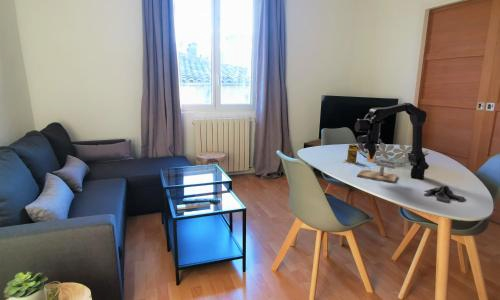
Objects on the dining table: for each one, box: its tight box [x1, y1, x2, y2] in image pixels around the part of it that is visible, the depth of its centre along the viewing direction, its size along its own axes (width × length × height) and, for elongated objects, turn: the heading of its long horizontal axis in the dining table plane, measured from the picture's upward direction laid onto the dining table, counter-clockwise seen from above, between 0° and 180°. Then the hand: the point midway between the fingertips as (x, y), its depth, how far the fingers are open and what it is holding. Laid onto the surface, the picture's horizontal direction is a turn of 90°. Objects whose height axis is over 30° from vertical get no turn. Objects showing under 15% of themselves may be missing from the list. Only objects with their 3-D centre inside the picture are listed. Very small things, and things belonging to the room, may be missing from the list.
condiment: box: [342, 143, 358, 165], centre depth 209 cm, size 7×8×12 cm
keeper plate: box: [356, 166, 398, 184], centre depth 178 cm, size 20×13×7 cm, turn 57°
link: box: [366, 150, 398, 170], centre depth 168 cm, size 15×9×6 cm, turn 59°
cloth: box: [423, 185, 466, 204], centre depth 151 cm, size 22×19×6 cm
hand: (371, 158), depth 171 cm, fingers closed on link
